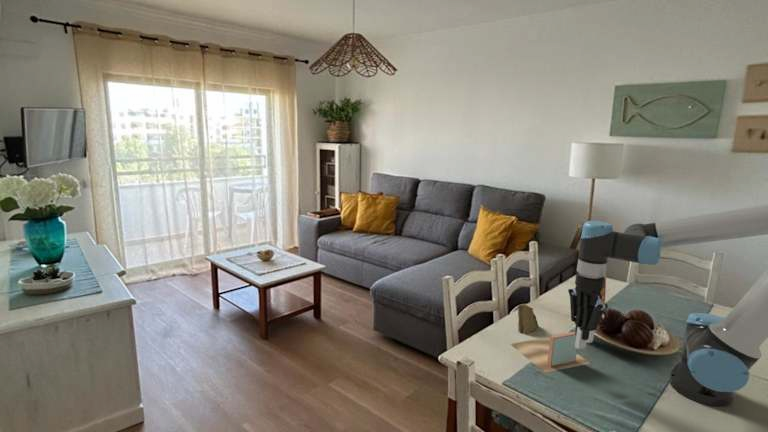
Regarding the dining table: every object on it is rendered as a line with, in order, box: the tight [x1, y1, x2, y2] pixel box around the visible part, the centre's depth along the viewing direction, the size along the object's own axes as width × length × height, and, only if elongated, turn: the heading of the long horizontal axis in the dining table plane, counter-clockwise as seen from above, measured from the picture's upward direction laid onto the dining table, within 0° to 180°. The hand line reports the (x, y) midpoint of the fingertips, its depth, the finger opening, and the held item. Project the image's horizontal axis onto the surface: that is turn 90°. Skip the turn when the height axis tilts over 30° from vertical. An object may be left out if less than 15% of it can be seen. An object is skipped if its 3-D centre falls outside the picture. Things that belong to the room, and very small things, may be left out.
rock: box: [517, 304, 539, 335], centre depth 156 cm, size 11×9×10 cm
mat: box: [510, 336, 591, 374], centre depth 140 cm, size 18×18×1 cm
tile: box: [547, 330, 578, 367], centre depth 133 cm, size 2×10×10 cm, turn 108°
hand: (580, 347), depth 126 cm, fingers closed
